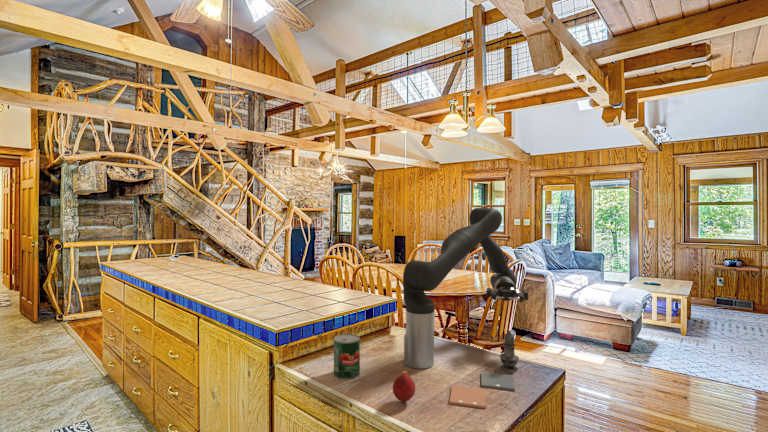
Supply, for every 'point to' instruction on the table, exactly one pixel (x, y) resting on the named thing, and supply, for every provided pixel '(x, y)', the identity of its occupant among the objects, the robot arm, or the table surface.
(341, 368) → the canned tomato
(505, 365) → the salt shaker
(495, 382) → the tile one
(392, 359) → the table surface
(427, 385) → the table surface
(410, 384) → the onion
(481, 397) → the tile two
